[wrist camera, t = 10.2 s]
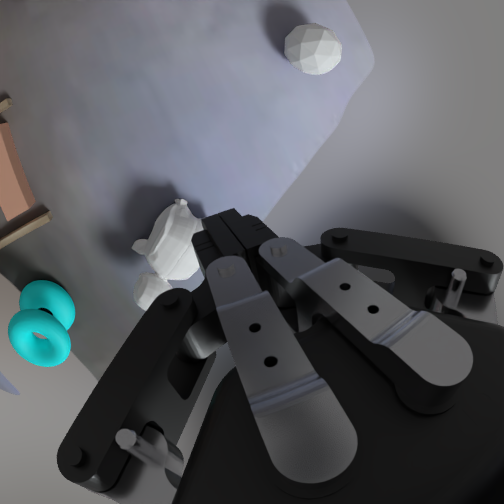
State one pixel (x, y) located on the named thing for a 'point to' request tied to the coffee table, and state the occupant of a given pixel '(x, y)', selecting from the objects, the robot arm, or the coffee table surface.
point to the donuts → (42, 324)
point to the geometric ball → (313, 49)
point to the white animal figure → (167, 252)
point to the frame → (32, 224)
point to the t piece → (12, 178)
